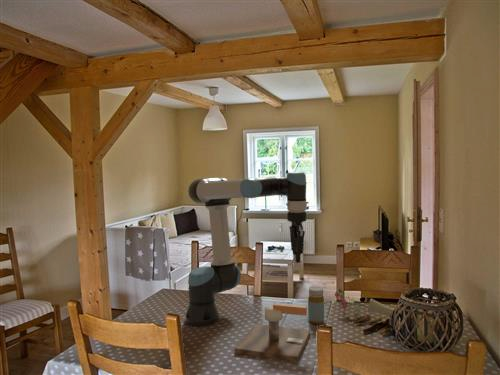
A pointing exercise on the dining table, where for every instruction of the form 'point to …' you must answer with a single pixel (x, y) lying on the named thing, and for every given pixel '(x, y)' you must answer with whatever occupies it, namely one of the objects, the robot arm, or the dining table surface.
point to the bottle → (316, 305)
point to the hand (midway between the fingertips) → (297, 269)
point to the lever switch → (283, 311)
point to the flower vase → (372, 307)
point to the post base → (273, 342)
